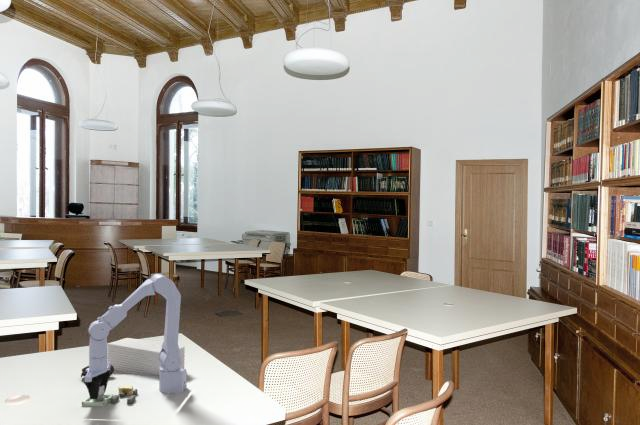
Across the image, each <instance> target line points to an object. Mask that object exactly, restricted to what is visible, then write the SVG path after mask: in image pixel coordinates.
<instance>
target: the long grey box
mask: <svg viewBox="0 0 640 425" xmlns="http://www.w3.org/2000/svg"><path fill="white" fill-rule="evenodd" d="M162 344H163V342H157V341H151V340H144V339H138V338H133V337H126V338H125V337H124V338H121V339H118V340H116V341H112V342H107V362H110V363H111V365H112V366H113V368H114V371H119V372H124V373H129V374H134V375H139V376H140V375H141V376H159V373H160V366H161V362H160V361H159V358H158V356H159V353H160V351H161V349H162ZM178 346H179V350H180V351H179V354H180V357H181V365H180V368H182V369H185V352H186V351H185V346H182V345H178ZM108 370H111V369H110V368H109V369H108Z"/></svg>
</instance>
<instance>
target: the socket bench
mask: <svg viewBox="0 0 640 425" xmlns="http://www.w3.org/2000/svg"><path fill="white" fill-rule="evenodd" d="M137 395H138V389H137V388H134V389H133V394H132V395H129V397H127V399H126V405H132V404H133V403H135V401H136V396H137ZM125 397H126V395H125V393H120V394H119V393H118V394H113V397H112V398H111V399H110V402H109V404H110V405H111V404H112V405H115V404H116V403H117V402H118V401H119V400H120V398H125Z"/></svg>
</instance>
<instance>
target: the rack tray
mask: <svg viewBox="0 0 640 425" xmlns="http://www.w3.org/2000/svg"><path fill="white" fill-rule="evenodd" d="M113 396H114V394H109V393H108V394H106V393H104V401H102V402H93V399H90V395H89V396H88V397H86V398H85V399H84V400H83V401H81V406H82V407H105V406H106V405H107V404H108V403H110V399H111V398H112V397H113Z"/></svg>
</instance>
